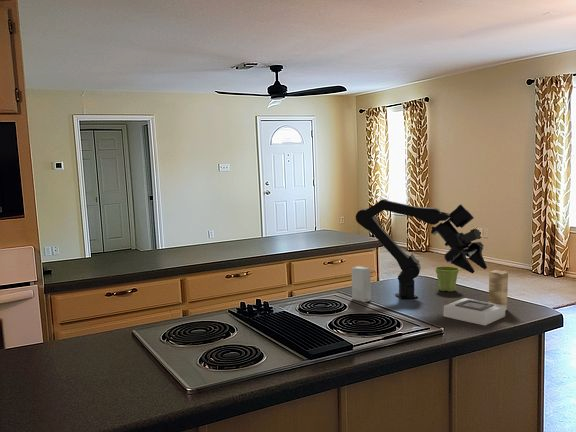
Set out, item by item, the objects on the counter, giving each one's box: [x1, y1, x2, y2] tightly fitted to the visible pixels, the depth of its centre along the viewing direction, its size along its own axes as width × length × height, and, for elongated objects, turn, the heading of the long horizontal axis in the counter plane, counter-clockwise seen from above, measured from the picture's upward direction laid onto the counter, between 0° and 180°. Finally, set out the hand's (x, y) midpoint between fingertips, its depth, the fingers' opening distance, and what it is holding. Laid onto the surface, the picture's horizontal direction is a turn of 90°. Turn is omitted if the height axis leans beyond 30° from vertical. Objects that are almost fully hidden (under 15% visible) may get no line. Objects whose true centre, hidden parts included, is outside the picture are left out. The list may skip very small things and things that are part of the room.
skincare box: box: [350, 265, 372, 303], centre depth 188 cm, size 6×4×12 cm
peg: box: [488, 269, 509, 311], centre depth 173 cm, size 4×4×13 cm
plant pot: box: [434, 265, 461, 292], centre depth 202 cm, size 9×9×9 cm
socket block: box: [443, 297, 506, 326], centre depth 166 cm, size 14×14×4 cm
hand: (480, 270), depth 178 cm, fingers open, 9 cm apart
